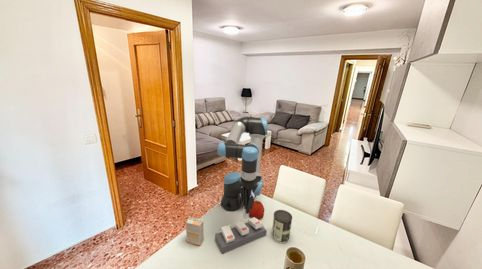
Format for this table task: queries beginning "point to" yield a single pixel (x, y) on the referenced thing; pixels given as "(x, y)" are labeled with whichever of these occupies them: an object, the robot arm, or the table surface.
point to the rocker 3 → (255, 223)
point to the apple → (257, 210)
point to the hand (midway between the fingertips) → (245, 216)
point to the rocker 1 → (227, 234)
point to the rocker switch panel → (239, 238)
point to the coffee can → (281, 226)
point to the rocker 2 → (242, 228)
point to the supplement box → (195, 231)
